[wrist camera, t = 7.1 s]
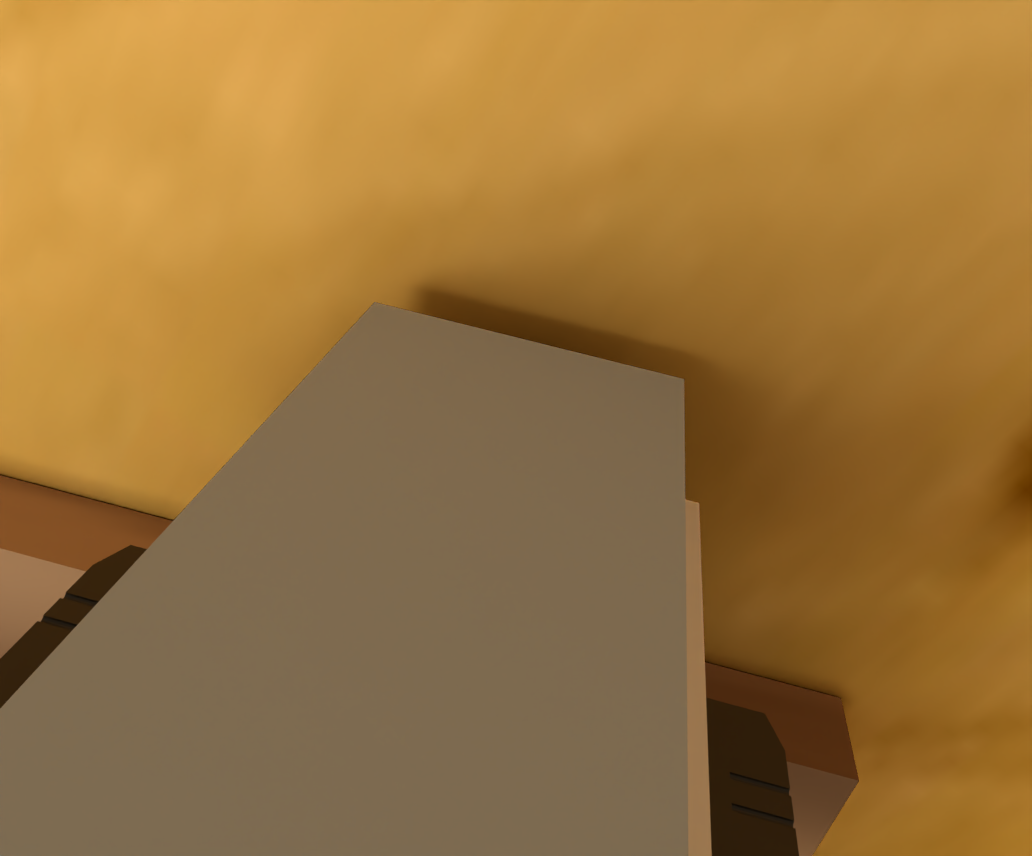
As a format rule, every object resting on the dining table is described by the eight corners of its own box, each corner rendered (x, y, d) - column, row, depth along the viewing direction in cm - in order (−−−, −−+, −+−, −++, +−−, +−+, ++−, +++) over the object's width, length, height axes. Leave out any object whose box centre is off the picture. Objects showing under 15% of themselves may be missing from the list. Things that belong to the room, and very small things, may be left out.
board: (698, 953, 22) (699, 1039, 20) (-198, 696, 24) (-269, 755, 22) (841, 698, 17) (859, 783, 15) (-312, 392, 18) (-417, 437, 17)
